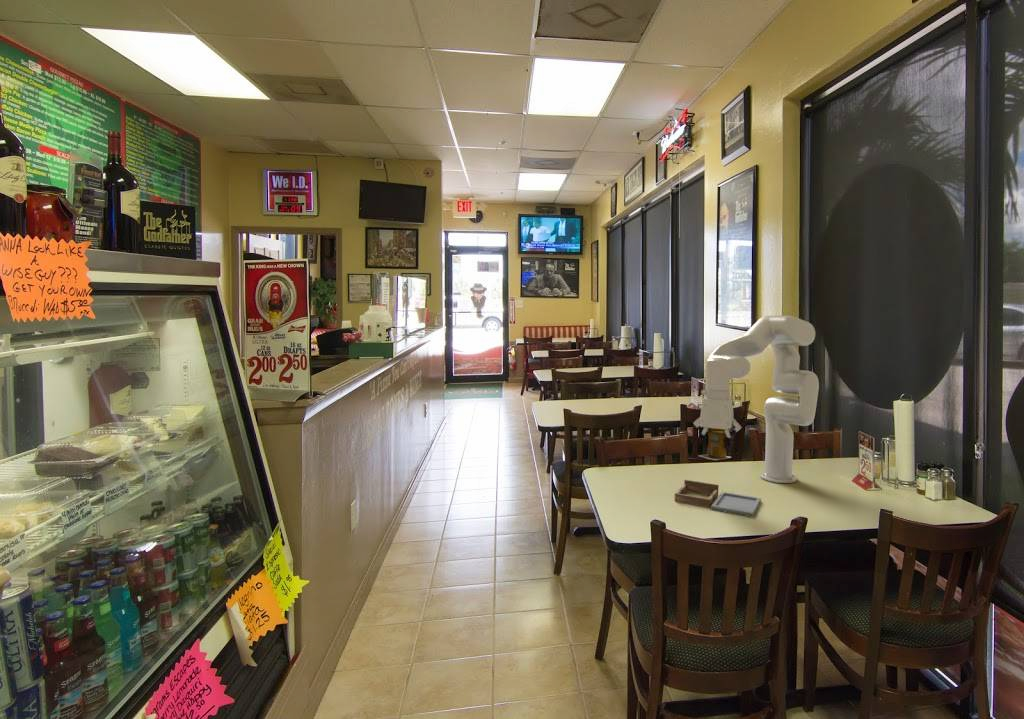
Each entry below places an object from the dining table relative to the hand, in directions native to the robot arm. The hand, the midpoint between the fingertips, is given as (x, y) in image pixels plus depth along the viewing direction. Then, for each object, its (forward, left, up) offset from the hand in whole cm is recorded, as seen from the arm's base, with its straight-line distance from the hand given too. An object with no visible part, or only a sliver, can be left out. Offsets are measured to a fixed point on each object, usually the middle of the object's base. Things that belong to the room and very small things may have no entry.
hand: (716, 446), depth 184 cm
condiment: (0, 0, -4) cm, 4 cm away
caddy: (0, -6, -19) cm, 20 cm away
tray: (0, +7, -19) cm, 20 cm away
